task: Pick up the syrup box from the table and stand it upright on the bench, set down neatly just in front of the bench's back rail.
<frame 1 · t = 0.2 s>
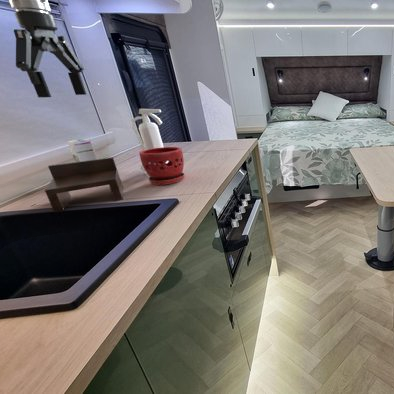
hand: (64, 96, 86), 31 cm above the worktop, tool pointing down, fingers open, 13 cm apart
fire extinguisher: (159, 171, 121), on the worktop
flower pot: (169, 181, 109), on the worktop
syrup box: (92, 177, 115), on the worktop
bench: (92, 198, 93), on the worktop
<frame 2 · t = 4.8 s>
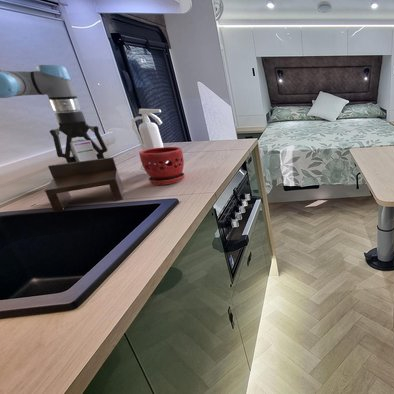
hand: (90, 171, 114), 2 cm above the worktop, tool pointing down, fingers closed on syrup box, 7 cm apart
syrup box: (92, 177, 115), on the worktop, touching gripper
everything else where it was.
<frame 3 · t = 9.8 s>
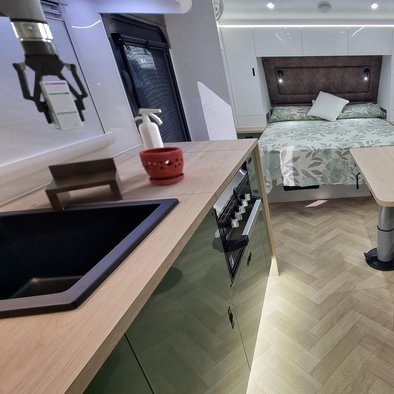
hand: (67, 122, 92), 23 cm above the worktop, tool pointing down, fingers closed on syrup box, 7 cm apart
syrup box: (69, 129, 93), point 21 cm above the worktop, touching gripper
everything else where it was.
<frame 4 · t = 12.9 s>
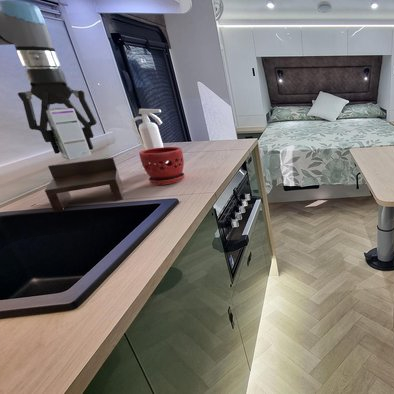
hand: (74, 150, 88), 16 cm above the worktop, tool pointing down, fingers closed on syrup box, 7 cm apart
syrup box: (77, 157, 89), point 13 cm above the worktop, touching gripper
everything else where it was.
when the fingers open (9 cm above the worktop, at t = 15.1 s): syrup box stays where it is, resting on bench.
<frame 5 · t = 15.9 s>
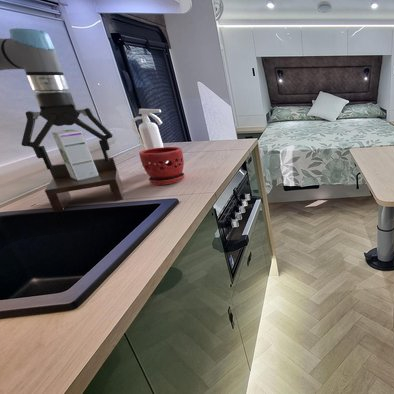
hand: (80, 164, 90), 11 cm above the worktop, tool pointing down, fingers open, 13 cm apart
syrup box: (85, 177, 92), point 7 cm above the worktop, touching bench
everything else where it was.
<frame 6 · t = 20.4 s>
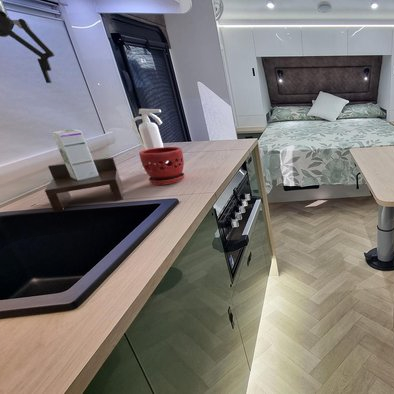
hand: (16, 83, 83), 35 cm above the worktop, tool pointing down, fingers open, 13 cm apart
nothing on the worktop moved.
at the end: syrup box 0.4 cm from the target spot on the bench, point 6.8 cm above the bench's base; syrup box tilted 0°; the gripper is holding nothing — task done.
